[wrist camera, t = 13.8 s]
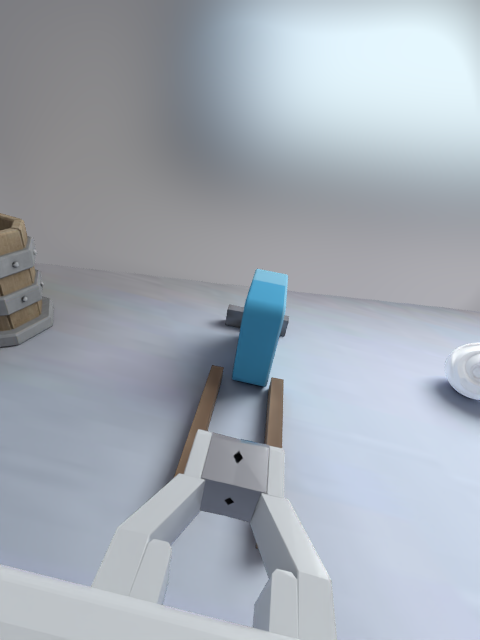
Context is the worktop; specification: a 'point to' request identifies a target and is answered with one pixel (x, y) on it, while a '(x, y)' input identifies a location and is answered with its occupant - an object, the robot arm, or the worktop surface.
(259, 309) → the data package
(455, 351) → the white ball
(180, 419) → the worktop surface
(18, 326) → the tankard
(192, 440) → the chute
